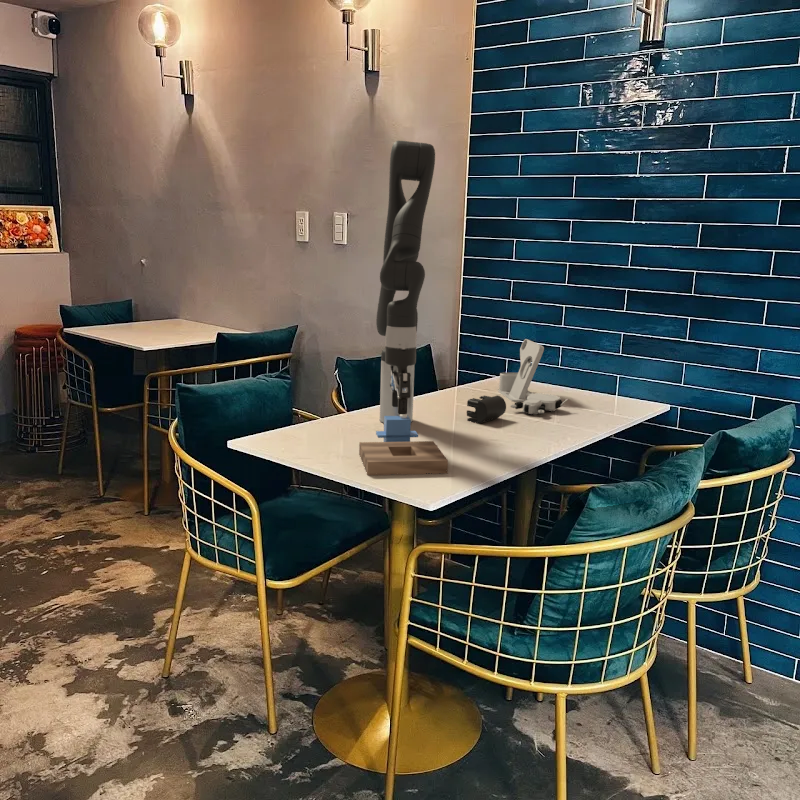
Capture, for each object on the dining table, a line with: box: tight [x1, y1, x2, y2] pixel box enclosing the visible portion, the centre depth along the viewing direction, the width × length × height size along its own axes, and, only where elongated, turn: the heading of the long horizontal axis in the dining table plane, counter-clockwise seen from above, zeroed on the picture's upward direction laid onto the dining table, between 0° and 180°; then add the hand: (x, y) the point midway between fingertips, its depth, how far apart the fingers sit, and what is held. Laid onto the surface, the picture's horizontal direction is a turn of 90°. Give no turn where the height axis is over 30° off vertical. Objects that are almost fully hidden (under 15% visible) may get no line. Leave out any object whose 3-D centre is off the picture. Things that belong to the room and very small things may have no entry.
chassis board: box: [358, 440, 449, 476], centre depth 184 cm, size 16×18×3 cm
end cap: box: [466, 395, 507, 424], centre depth 227 cm, size 10×7×7 cm
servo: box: [375, 414, 419, 442], centre depth 197 cm, size 10×4×8 cm, turn 99°
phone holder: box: [497, 338, 545, 403], centre depth 260 cm, size 17×10×18 cm, turn 10°
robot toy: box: [510, 392, 568, 416], centre depth 240 cm, size 12×4×15 cm
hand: (399, 410), depth 196 cm, fingers open, 8 cm apart
